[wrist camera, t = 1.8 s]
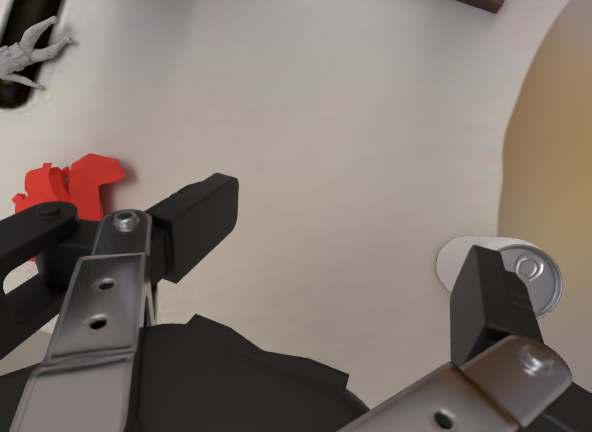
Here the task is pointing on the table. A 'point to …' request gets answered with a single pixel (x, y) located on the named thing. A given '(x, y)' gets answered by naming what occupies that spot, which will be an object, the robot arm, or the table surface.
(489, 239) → the can
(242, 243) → the table surface
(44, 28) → the soldier figure
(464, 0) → the brush stand
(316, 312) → the table surface
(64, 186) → the animal figurine
